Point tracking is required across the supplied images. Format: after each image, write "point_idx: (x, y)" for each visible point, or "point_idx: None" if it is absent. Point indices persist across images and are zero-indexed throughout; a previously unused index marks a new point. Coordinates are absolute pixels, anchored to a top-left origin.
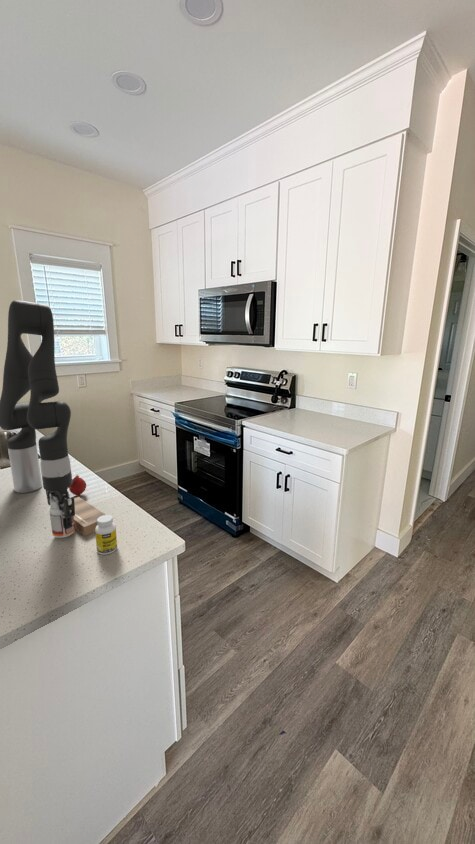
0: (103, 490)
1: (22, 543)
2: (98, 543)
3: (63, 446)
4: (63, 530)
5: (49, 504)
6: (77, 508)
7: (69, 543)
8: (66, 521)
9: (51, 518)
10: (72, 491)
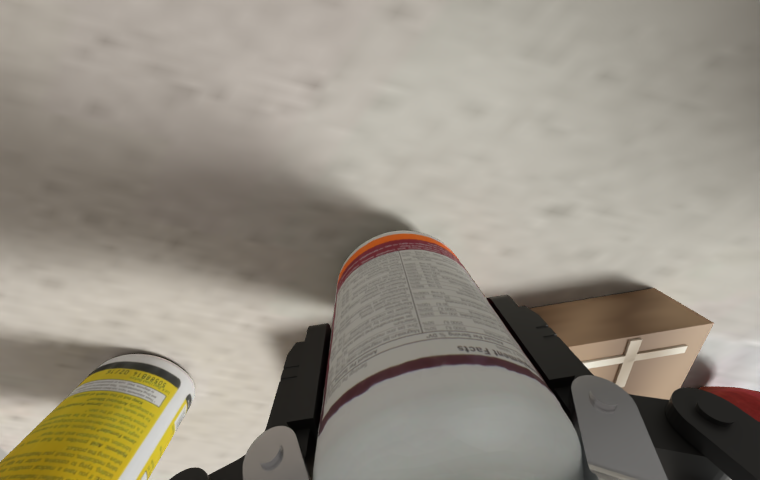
0: None
1: (493, 34)
2: (56, 415)
3: None
4: (334, 305)
5: (678, 408)
6: None
7: (298, 274)
8: (274, 401)
9: (406, 326)
10: (748, 408)
